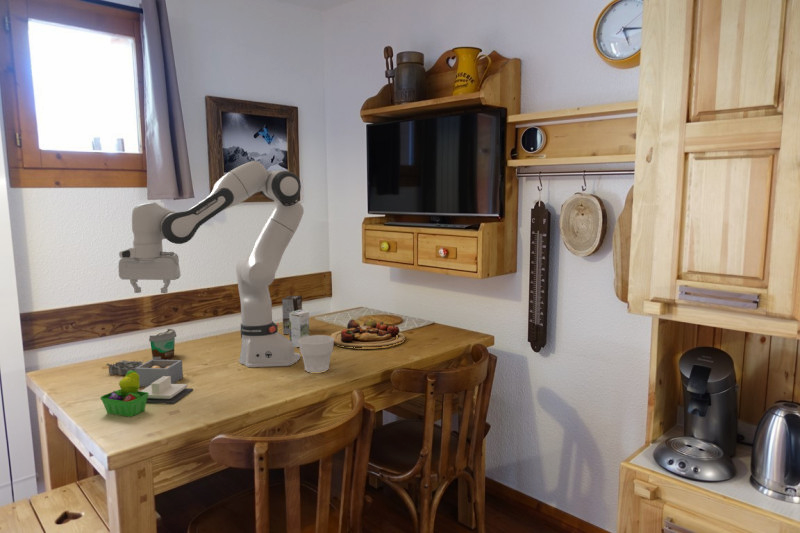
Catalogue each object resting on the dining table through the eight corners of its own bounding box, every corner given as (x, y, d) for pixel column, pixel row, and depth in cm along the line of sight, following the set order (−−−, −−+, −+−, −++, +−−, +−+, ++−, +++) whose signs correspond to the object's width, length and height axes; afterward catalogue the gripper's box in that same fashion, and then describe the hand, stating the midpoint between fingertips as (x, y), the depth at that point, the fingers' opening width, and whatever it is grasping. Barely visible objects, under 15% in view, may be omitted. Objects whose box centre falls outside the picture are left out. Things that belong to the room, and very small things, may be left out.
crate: (183, 377, 194) (182, 360, 194) (167, 387, 185) (166, 369, 184) (152, 376, 196) (151, 359, 195) (135, 386, 186) (134, 368, 185)
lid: (187, 389, 181) (186, 375, 180) (171, 400, 170) (170, 386, 170) (153, 388, 182) (152, 374, 181) (135, 399, 172) (134, 384, 171)
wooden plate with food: (355, 355, 219) (355, 334, 218) (315, 338, 245) (315, 319, 244) (420, 343, 239) (420, 324, 238) (377, 329, 264) (377, 311, 263)
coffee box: (296, 335, 251) (295, 299, 249) (282, 334, 252) (281, 299, 250) (303, 330, 260) (302, 295, 258) (289, 329, 261) (288, 295, 259)
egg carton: (105, 375, 199) (104, 363, 198) (120, 368, 206) (119, 357, 205) (132, 376, 197) (131, 365, 196) (146, 370, 204) (145, 358, 203)
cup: (303, 377, 193) (302, 345, 192) (295, 367, 204) (294, 337, 203) (339, 372, 198) (338, 341, 197) (329, 363, 209) (328, 333, 208)
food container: (165, 363, 211) (163, 336, 210) (150, 362, 213) (148, 335, 211) (184, 353, 223) (182, 328, 222) (170, 353, 225) (168, 328, 223)
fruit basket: (99, 414, 162) (96, 376, 161) (124, 403, 171) (122, 367, 169) (130, 419, 158) (127, 380, 157) (154, 408, 166) (152, 370, 165)
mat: (192, 390, 181) (192, 388, 181) (173, 404, 170) (173, 402, 170) (151, 388, 183) (151, 387, 183) (129, 402, 171) (129, 400, 171)
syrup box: (299, 344, 236) (297, 309, 235) (310, 345, 233) (309, 310, 232) (289, 347, 231) (288, 312, 230) (301, 349, 228) (299, 313, 227)
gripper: (182, 250, 192) (185, 291, 194) (125, 250, 194) (128, 290, 196) (173, 252, 186) (175, 294, 187) (114, 252, 188) (117, 294, 190)
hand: (151, 292), depth 192 cm, fingers open, 8 cm apart
